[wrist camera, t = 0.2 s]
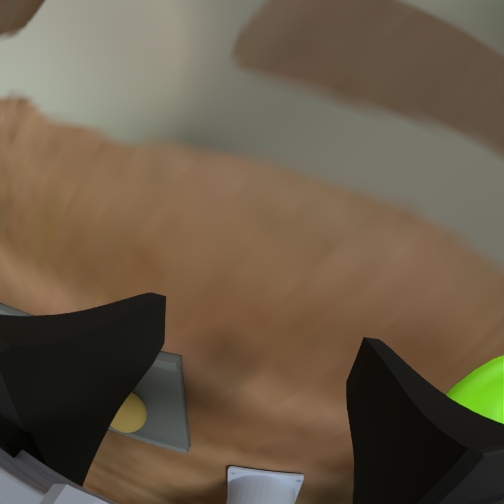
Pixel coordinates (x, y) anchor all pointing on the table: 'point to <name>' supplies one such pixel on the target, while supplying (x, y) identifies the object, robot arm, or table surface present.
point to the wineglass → (483, 390)
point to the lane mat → (156, 400)
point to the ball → (130, 415)
